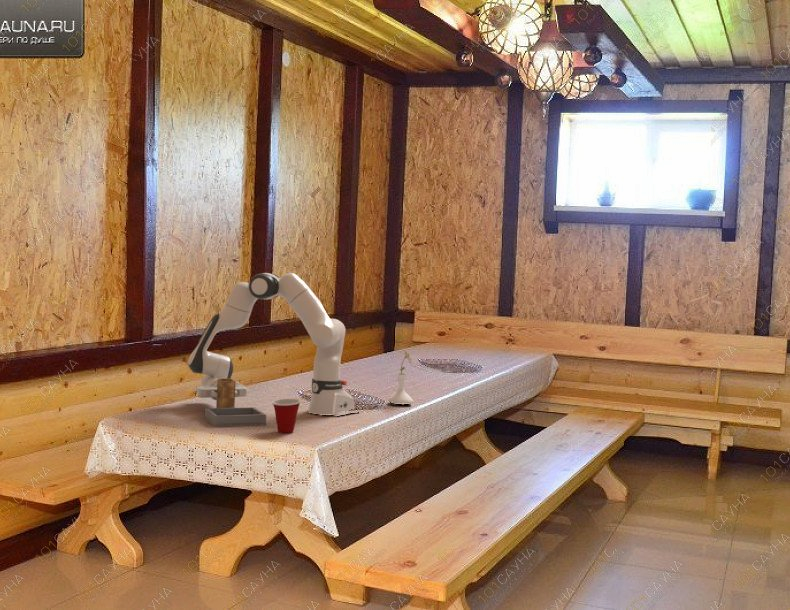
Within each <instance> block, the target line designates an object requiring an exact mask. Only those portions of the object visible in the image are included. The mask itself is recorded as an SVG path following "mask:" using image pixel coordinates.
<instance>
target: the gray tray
mask: <svg viewBox="0 0 790 610" xmlns="http://www.w3.org/2000/svg"><path fill="white" fill-rule="evenodd" d="M204 419H205V420H206V421H207V420H208V421H209V422H208V421H207V422H208V423H210V424H211V425H212V426H213V425H214V426H213V427H215V428H217V426H220V427H244V426H245V427H246V426H247V427H251V426H250V425H252V426H266V424H267V414H266V413H264V412H262V411H261V410H260V409H258V408H257V407H255V406H253V407H252V406H251V407H249V406H247V407H235V408H216V407H211V408H209V407H207V408H204Z"/></svg>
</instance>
